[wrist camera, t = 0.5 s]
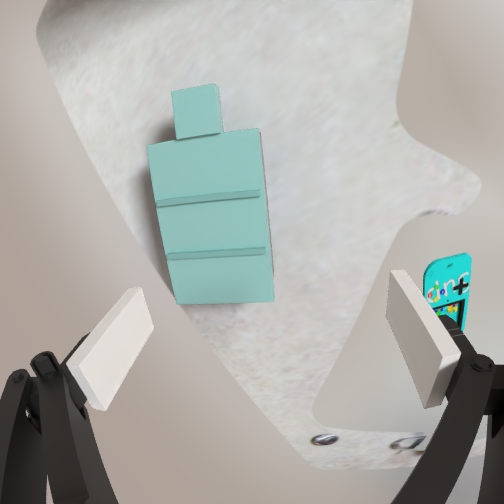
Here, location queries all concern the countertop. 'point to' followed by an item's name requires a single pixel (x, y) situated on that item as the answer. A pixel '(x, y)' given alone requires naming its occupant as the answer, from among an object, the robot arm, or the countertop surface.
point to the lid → (212, 205)
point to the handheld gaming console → (448, 286)
